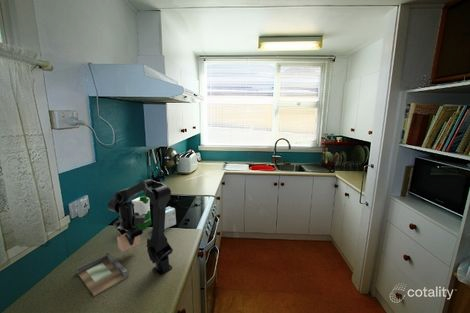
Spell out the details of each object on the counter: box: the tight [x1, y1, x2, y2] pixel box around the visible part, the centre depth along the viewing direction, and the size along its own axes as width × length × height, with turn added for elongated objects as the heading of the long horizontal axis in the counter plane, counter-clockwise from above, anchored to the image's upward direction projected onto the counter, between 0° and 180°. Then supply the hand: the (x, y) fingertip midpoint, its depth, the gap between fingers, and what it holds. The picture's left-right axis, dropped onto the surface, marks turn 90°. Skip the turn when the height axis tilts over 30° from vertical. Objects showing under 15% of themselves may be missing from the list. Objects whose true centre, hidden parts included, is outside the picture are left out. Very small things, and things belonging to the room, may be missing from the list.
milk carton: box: [131, 194, 153, 230], centre depth 133 cm, size 9×9×20 cm
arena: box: [76, 252, 129, 297], centre depth 92 cm, size 20×13×3 cm, turn 52°
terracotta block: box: [116, 233, 141, 252], centre depth 105 cm, size 4×9×6 cm, turn 142°
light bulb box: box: [164, 206, 177, 230], centre depth 133 cm, size 11×7×11 cm, turn 141°
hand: (129, 243), depth 105 cm, fingers closed on terracotta block, 4 cm apart
